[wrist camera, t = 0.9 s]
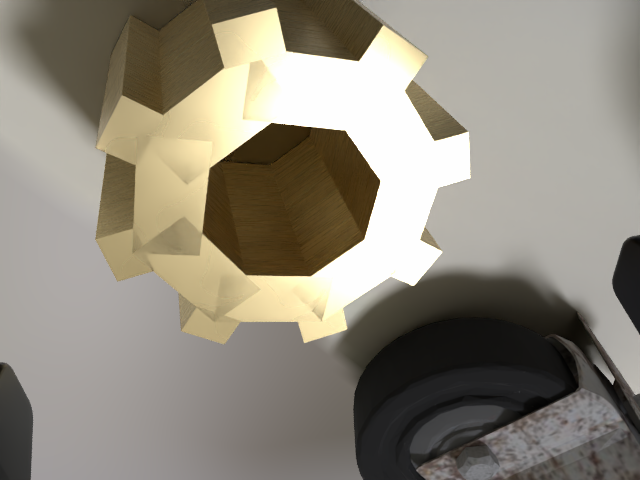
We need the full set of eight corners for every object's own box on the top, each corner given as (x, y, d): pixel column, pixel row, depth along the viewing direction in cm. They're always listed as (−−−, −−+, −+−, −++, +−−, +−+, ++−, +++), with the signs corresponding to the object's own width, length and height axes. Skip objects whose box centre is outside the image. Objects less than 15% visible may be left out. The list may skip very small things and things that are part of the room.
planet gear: (413, -13, 14) (519, 47, 10) (350, 226, 18) (409, 341, 14) (113, -70, 12) (95, -23, 8) (109, 215, 16) (95, 346, 12)
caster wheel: (311, 347, 24) (533, 217, 21) (454, 491, 28) (655, 402, 25) (305, 491, 18) (612, 341, 15) (486, 642, 23) (752, 551, 19)
